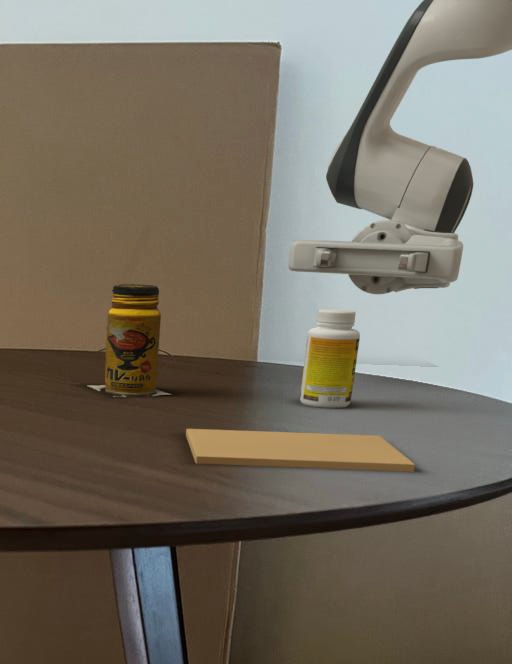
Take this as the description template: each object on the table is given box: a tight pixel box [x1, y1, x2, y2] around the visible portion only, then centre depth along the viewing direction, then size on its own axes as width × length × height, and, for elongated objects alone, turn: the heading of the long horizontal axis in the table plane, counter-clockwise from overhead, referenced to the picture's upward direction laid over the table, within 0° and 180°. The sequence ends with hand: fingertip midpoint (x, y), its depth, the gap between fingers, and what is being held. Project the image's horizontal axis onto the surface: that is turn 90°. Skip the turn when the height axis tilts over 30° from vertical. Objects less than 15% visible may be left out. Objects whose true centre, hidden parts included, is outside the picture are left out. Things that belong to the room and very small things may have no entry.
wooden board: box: [185, 428, 416, 473], centre depth 91 cm, size 18×12×1 cm, turn 86°
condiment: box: [88, 283, 172, 398], centre depth 119 cm, size 7×8×12 cm
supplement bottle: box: [299, 308, 361, 409], centre depth 114 cm, size 6×6×10 cm
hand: (363, 260), depth 120 cm, fingers open, 8 cm apart
